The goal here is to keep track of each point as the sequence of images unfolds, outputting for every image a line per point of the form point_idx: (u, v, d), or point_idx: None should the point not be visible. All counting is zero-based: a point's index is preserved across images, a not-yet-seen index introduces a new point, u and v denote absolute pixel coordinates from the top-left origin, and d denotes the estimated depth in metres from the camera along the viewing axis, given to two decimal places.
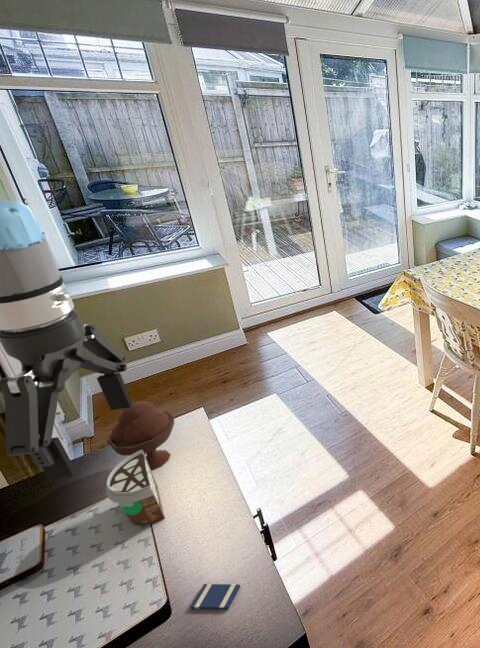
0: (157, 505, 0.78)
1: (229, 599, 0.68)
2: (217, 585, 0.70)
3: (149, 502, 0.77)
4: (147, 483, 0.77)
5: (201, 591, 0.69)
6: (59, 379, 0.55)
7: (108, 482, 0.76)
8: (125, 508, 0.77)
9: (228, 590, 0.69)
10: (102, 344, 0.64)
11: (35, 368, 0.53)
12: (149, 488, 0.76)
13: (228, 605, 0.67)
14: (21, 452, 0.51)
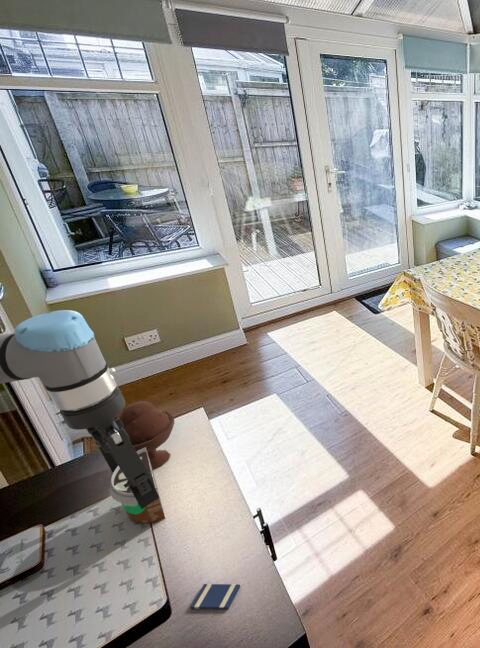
0: (160, 506, 0.78)
1: (229, 599, 0.68)
2: (217, 585, 0.70)
3: (153, 503, 0.77)
4: None
5: (201, 591, 0.69)
6: (125, 432, 0.73)
7: (112, 481, 0.76)
8: (128, 507, 0.76)
9: (228, 590, 0.69)
10: None
11: (114, 427, 0.70)
12: None
13: (228, 605, 0.67)
14: (143, 478, 0.70)
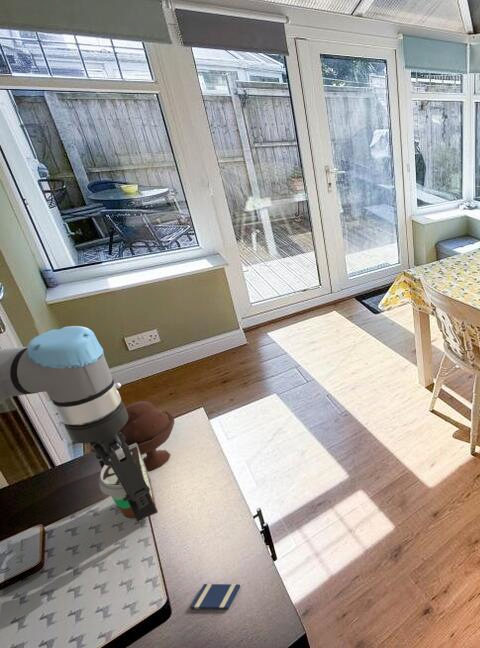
0: None
1: (229, 599, 0.68)
2: (217, 585, 0.70)
3: None
4: None
5: (201, 591, 0.69)
6: None
7: (101, 475, 0.76)
8: (118, 501, 0.76)
9: (228, 590, 0.69)
10: None
11: (117, 441, 0.72)
12: None
13: (228, 605, 0.67)
14: (142, 493, 0.72)
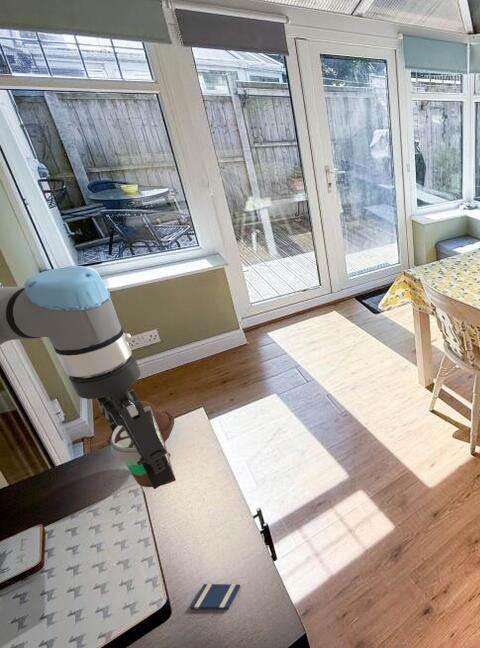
0: None
1: (229, 599, 0.68)
2: (217, 585, 0.70)
3: None
4: None
5: (201, 591, 0.69)
6: None
7: (113, 438, 0.69)
8: (132, 467, 0.69)
9: (228, 590, 0.69)
10: None
11: (129, 398, 0.64)
12: None
13: (228, 605, 0.67)
14: (159, 455, 0.65)
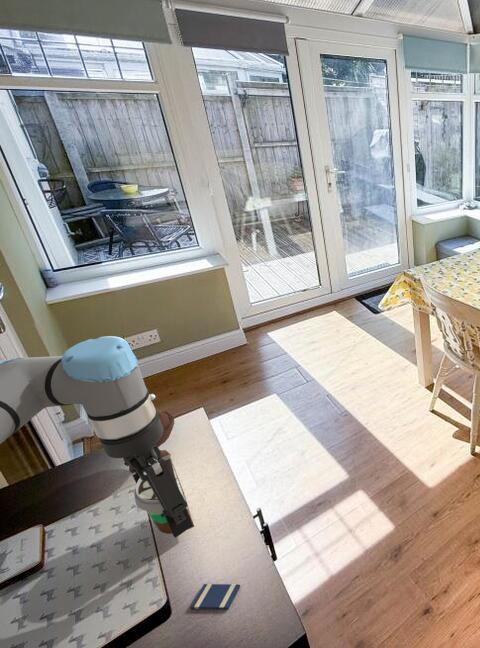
0: None
1: (229, 599, 0.68)
2: (217, 585, 0.70)
3: None
4: None
5: (201, 591, 0.69)
6: None
7: (137, 489, 0.73)
8: (154, 516, 0.73)
9: (228, 590, 0.69)
10: None
11: (153, 455, 0.69)
12: None
13: (228, 605, 0.67)
14: (180, 509, 0.69)
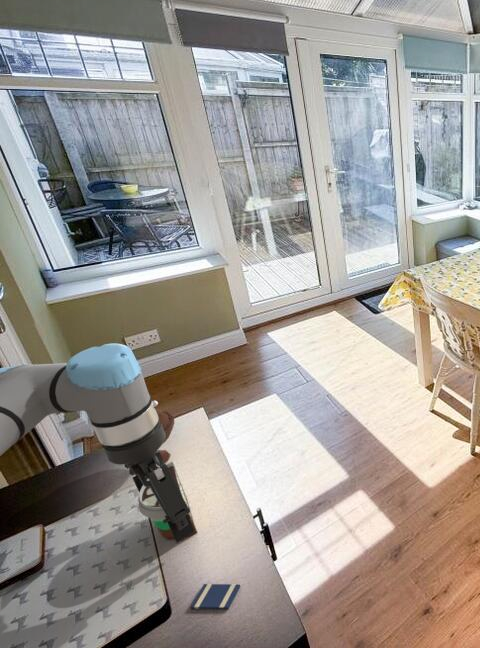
0: (190, 519, 0.76)
1: (229, 599, 0.68)
2: (217, 585, 0.70)
3: None
4: None
5: (201, 591, 0.69)
6: None
7: (140, 496, 0.74)
8: (158, 523, 0.74)
9: (228, 590, 0.69)
10: None
11: (155, 461, 0.69)
12: None
13: (228, 605, 0.67)
14: (183, 514, 0.69)
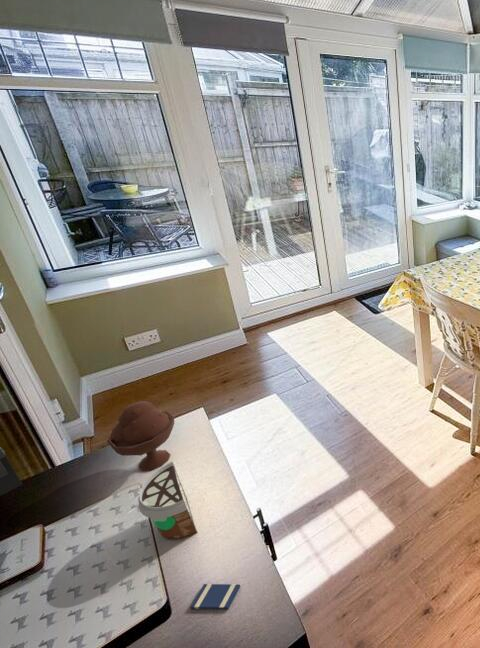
0: (190, 519, 0.76)
1: (229, 599, 0.68)
2: (217, 585, 0.70)
3: (182, 516, 0.75)
4: (180, 497, 0.75)
5: (201, 591, 0.69)
6: None
7: (140, 496, 0.74)
8: (158, 523, 0.74)
9: (228, 590, 0.69)
10: None
11: None
12: (183, 502, 0.73)
13: (228, 605, 0.67)
14: None
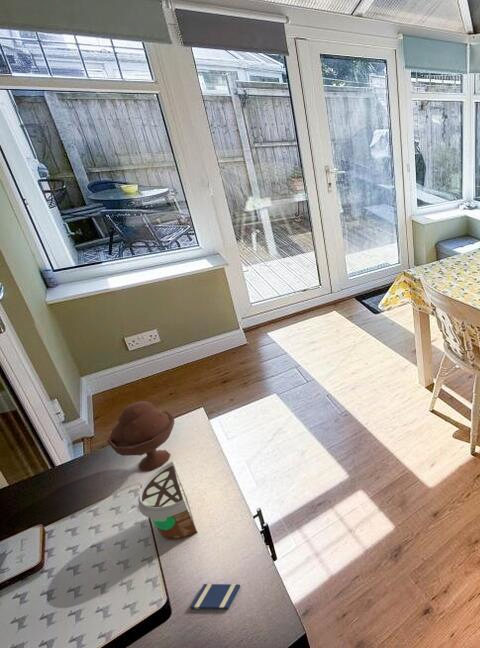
0: (190, 519, 0.76)
1: (229, 599, 0.68)
2: (217, 585, 0.70)
3: (182, 516, 0.75)
4: (180, 497, 0.75)
5: (201, 591, 0.69)
6: None
7: (140, 496, 0.74)
8: (158, 523, 0.74)
9: (228, 590, 0.69)
10: None
11: None
12: (183, 502, 0.73)
13: (228, 605, 0.67)
14: None
